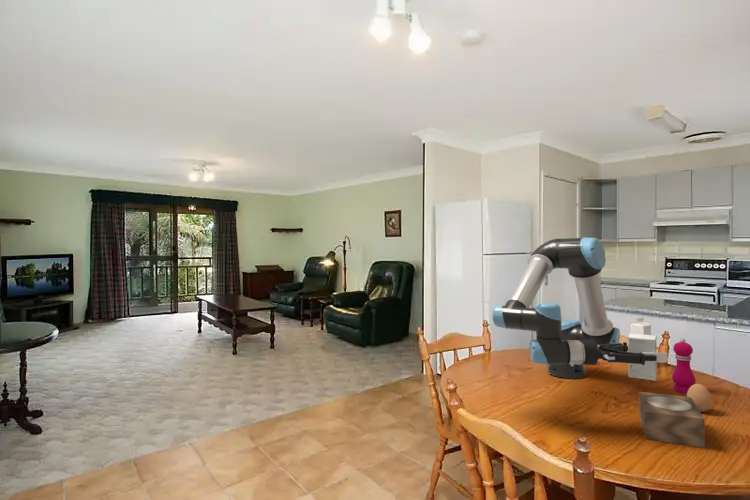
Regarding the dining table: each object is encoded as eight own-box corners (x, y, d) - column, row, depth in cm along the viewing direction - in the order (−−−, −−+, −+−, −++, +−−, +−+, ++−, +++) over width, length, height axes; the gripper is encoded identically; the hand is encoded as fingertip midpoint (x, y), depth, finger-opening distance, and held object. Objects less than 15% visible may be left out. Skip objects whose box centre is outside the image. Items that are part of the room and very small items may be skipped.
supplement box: (627, 377, 132) (627, 336, 132) (630, 371, 138) (629, 332, 138) (656, 381, 127) (655, 339, 127) (657, 375, 134) (656, 334, 133)
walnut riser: (645, 438, 124) (644, 409, 124) (639, 416, 140) (638, 390, 139) (705, 447, 117) (704, 417, 117) (691, 423, 133) (691, 396, 133)
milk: (652, 366, 193) (651, 318, 193) (644, 368, 190) (643, 319, 190) (638, 363, 199) (637, 316, 198) (630, 365, 196) (630, 317, 195)
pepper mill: (700, 394, 157) (698, 340, 157) (678, 393, 158) (676, 340, 158) (689, 388, 164) (688, 336, 164) (668, 387, 165) (667, 336, 165)
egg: (687, 406, 147) (687, 379, 147) (712, 410, 142) (711, 383, 142) (686, 412, 142) (685, 384, 141) (711, 416, 137) (711, 388, 137)
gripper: (571, 355, 146) (641, 356, 143) (594, 374, 124) (678, 376, 121) (570, 333, 146) (641, 334, 143) (593, 349, 124) (677, 349, 121)
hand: (658, 353), depth 132 cm, fingers closed on supplement box, 9 cm apart
